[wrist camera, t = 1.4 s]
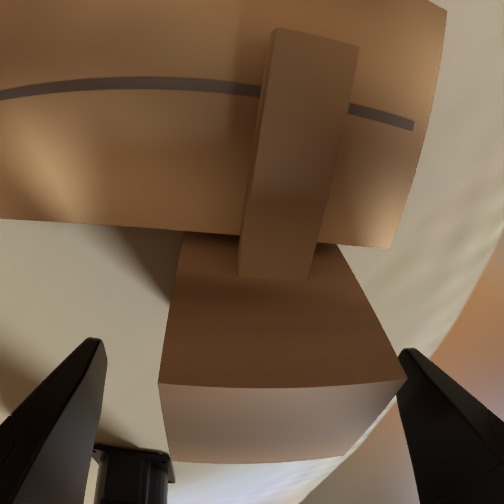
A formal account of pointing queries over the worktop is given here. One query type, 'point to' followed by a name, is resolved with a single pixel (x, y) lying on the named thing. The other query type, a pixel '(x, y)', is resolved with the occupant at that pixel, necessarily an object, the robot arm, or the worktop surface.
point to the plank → (200, 109)
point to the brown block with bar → (277, 292)
